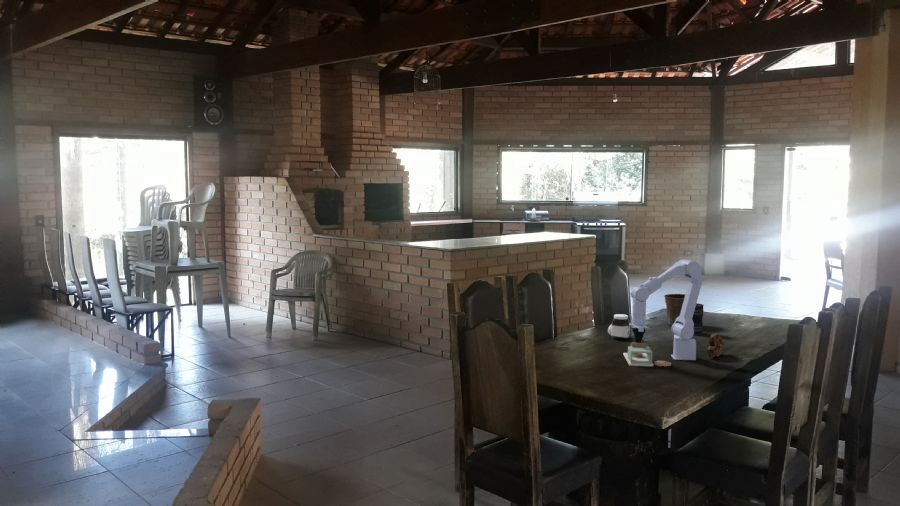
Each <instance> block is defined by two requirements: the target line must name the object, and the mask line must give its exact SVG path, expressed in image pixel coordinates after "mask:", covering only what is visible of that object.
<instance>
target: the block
mask: <svg viewBox="0 0 900 506" xmlns="http://www.w3.org/2000/svg"><path fill="white" fill-rule="evenodd" d="M630 346H632V344H630ZM632 357H634V358H643V356H642V353H632Z"/></svg>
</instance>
